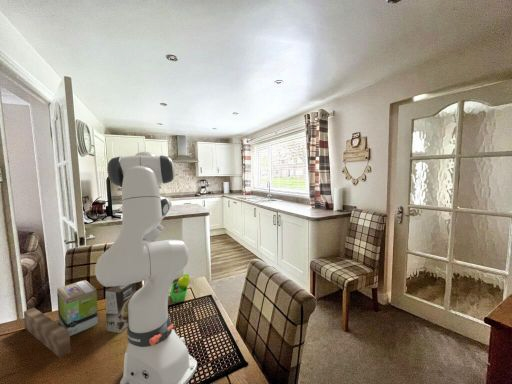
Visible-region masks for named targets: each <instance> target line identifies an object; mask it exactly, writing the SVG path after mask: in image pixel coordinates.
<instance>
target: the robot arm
mask: <svg viewBox="0 0 512 384" xmlns="http://www.w3.org/2000/svg"><path fill="white" fill-rule="evenodd" d="M106 173H107V176H108V178H109V180H110V182H111V183H112V184H113V185H115V186H118V187H120V188H121V205H122V209H121V210H122V222H121V228H120V231H119V234H118V235H117V238H116V239H115V241H114V242H113V244H112V245H111V246H110V247H109V248H108V249H106V250H105V251H104V252H103V253H102V254H101V255H100V256H99V257H98V259H97V261H96V263H95V266H94V275H95V278H96V280H97V282H98V283H99V284H101V285H102V286H103V287H105V288H107V287H108V288H112V287H113V286H124V285H128V284H132V283H140V282H143V281H146V280H147V281H146V282H145V284H144V285H143V286H142V287H140V288H138V290H136V292H135V293H134V295H133V296H132V297H131V299H130V301H129V303H128V318H129V324H128V326H127V327H126V329H127V330H126V337H127V341H128V343H127V348H126V349H125V353H124V357H123V358H124V359H123V361H124V362H123V375H122V378H121V379H120V382H119V384H187V383H189V381H190V380H191V379H192V377H193V376H194V375H195V372H196V371H197V367H198V361H197V360H196V359H195V358H194V357H193V356H192V355H191V354H189V350H188V347H187V345H186V339H185V337H184V336H181V337H179V335H178V333H176V330H174V327H175V326H174V325H175V323H172V321H171V318H170V316H169V312H168V311H169V309H168V306H169V305H168V304H169V295H170V291H171V288H172V285H173V283H174V281H175V279H176V277H177V276H178V275H179V274H180V273H181V271H182V270H184V269H185V268H186V266H187V264H188V262H189V259H190V251H189V248H188V245H186V244H187V243H185V242H184V241H183V240H181V239H164V240H159V241H158V240H157V239H158V237H159V236H160V235H161V233H162V231H164V229H165V227H164V226H163V225H162V224H161V223H162V221H163V219H164V218H165V217H166V216H167V215H168V213H169V212H170V209H171V207H172V202H171V200H170V199H169V198H168V197H165V196H162V195H161V192H160V186H161V185H162V184H168V183H172V181H174V177H175V175H176V167H175V163H174V162H173V160H172V158H170V157H169V156H166V155H161V154H160V155H155V154H153V153H152V152H149V151H140V152H137V153H135V155H127V156H116V157H112V158H111V159H110V160H109V161H108V162H107V167H106Z"/></svg>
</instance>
